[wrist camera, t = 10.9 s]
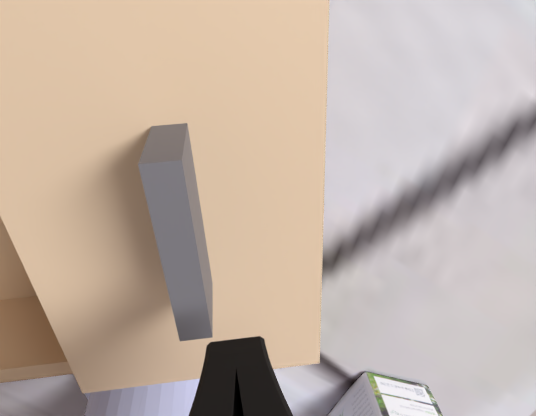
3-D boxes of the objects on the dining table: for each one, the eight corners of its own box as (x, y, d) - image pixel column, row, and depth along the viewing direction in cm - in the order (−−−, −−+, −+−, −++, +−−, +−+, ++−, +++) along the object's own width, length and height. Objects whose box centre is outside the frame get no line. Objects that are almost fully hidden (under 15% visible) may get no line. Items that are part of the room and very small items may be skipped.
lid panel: (316, 351, 18) (333, 418, 16) (86, 380, 18) (64, 455, 15) (326, -112, 10) (368, -136, 7) (-124, -91, 9) (-261, -109, 6)
